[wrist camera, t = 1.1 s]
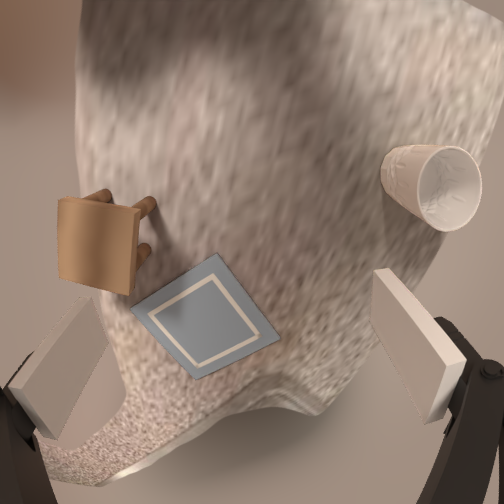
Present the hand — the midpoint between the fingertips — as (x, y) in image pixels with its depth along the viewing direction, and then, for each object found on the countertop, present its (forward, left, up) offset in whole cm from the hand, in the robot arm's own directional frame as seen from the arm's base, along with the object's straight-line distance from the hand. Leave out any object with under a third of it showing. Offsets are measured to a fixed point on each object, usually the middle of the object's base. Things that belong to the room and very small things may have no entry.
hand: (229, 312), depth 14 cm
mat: (+10, -12, -22) cm, 27 cm away
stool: (-6, -12, -22) cm, 26 cm away
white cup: (+7, +18, -22) cm, 29 cm away
